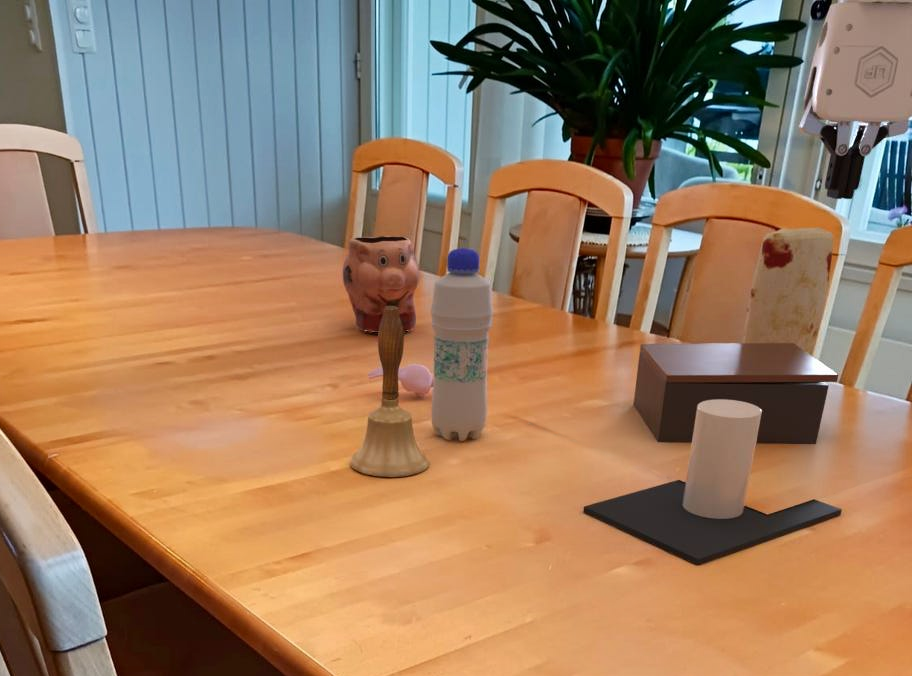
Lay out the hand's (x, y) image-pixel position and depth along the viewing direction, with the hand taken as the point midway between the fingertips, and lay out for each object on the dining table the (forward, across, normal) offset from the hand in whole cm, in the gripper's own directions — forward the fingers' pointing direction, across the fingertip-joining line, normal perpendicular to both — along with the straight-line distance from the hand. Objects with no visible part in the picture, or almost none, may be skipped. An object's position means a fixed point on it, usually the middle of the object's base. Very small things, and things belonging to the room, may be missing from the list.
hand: (839, 197), depth 102 cm
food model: (+25, +3, +20) cm, 32 cm away
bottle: (+25, -39, -3) cm, 47 cm away
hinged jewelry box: (+25, -9, 0) cm, 27 cm away
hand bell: (+25, -47, -13) cm, 55 cm away
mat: (+25, -16, -26) cm, 39 cm away
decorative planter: (+25, -50, +53) cm, 77 cm away
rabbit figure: (+25, -43, +13) cm, 51 cm away
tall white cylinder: (+24, -16, -26) cm, 39 cm away
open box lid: (+18, -8, 0) cm, 19 cm away
